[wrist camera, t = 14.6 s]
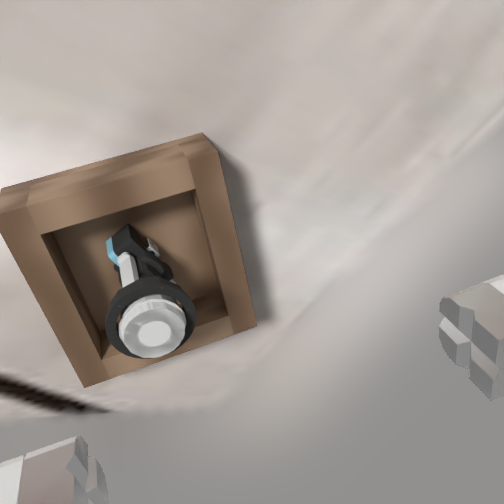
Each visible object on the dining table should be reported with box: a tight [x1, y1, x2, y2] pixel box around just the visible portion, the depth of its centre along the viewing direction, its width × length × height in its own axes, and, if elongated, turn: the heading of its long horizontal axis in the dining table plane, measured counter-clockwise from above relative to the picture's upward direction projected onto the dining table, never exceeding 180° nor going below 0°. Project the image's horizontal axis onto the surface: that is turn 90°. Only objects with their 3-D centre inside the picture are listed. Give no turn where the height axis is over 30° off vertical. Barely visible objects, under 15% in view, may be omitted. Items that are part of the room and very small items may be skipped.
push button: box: [105, 223, 196, 359], centre depth 32 cm, size 7×5×10 cm
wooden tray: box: [0, 133, 257, 388], centre depth 35 cm, size 14×15×4 cm
